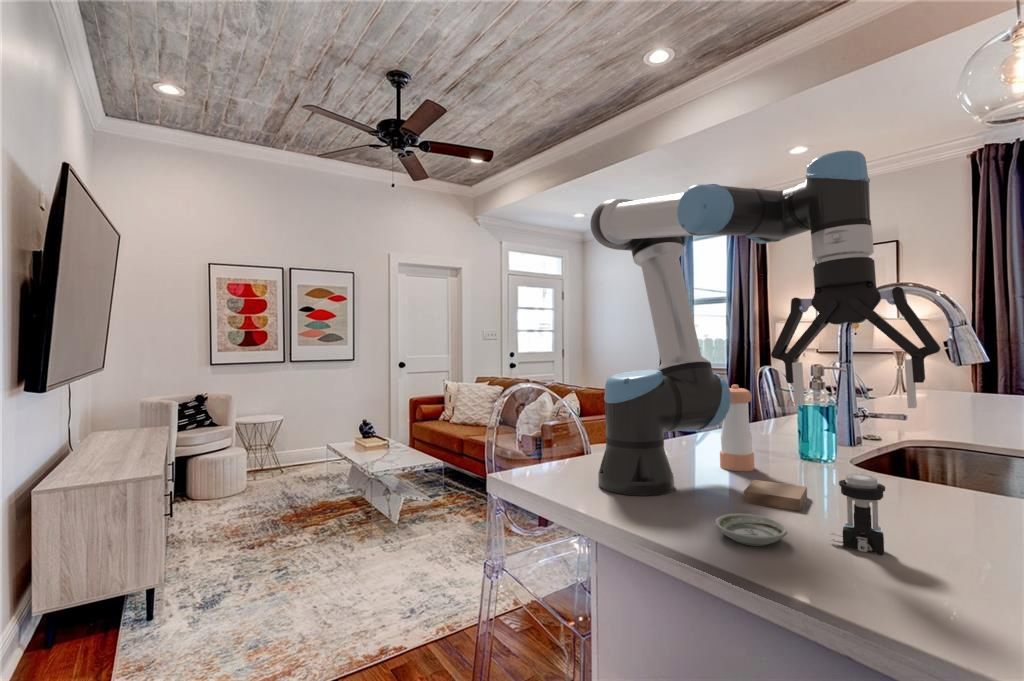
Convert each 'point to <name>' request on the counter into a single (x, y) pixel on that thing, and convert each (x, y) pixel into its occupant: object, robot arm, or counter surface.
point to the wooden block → (776, 495)
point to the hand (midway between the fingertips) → (852, 406)
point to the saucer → (751, 528)
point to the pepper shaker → (737, 433)
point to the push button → (862, 514)
